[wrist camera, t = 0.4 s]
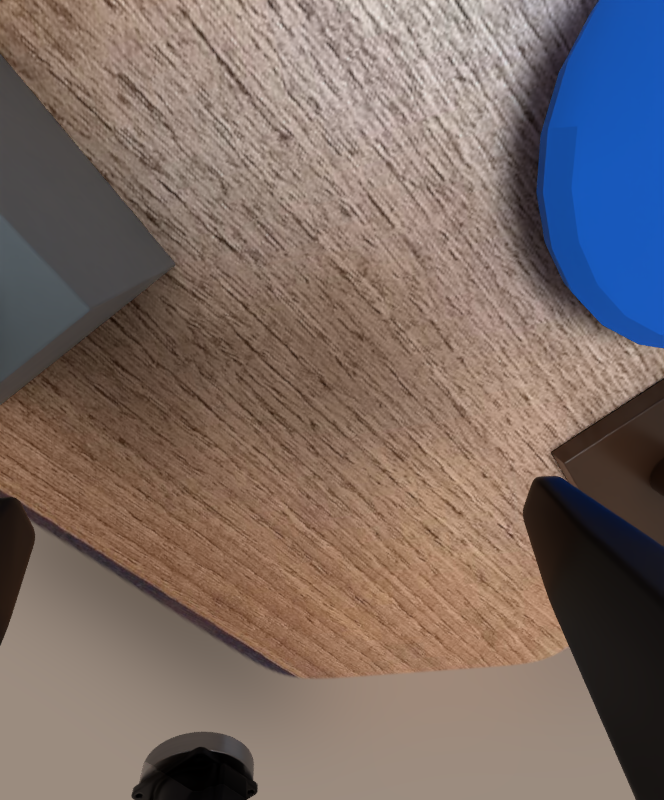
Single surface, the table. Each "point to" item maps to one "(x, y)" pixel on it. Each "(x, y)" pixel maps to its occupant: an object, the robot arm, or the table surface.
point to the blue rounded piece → (609, 169)
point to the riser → (58, 241)
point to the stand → (623, 462)
